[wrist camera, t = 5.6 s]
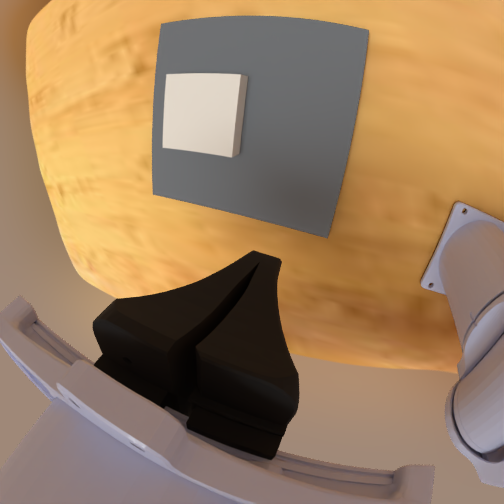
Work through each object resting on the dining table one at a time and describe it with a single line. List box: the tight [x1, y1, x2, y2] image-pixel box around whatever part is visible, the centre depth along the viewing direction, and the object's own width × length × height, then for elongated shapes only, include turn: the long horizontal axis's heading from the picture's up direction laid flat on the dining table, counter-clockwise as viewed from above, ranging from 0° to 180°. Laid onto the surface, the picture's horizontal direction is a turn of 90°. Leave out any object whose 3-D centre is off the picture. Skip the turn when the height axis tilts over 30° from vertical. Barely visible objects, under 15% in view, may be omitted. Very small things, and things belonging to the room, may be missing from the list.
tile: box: [163, 73, 248, 157], centre depth 18 cm, size 2×6×6 cm
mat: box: [152, 16, 369, 238], centre depth 18 cm, size 16×16×1 cm
